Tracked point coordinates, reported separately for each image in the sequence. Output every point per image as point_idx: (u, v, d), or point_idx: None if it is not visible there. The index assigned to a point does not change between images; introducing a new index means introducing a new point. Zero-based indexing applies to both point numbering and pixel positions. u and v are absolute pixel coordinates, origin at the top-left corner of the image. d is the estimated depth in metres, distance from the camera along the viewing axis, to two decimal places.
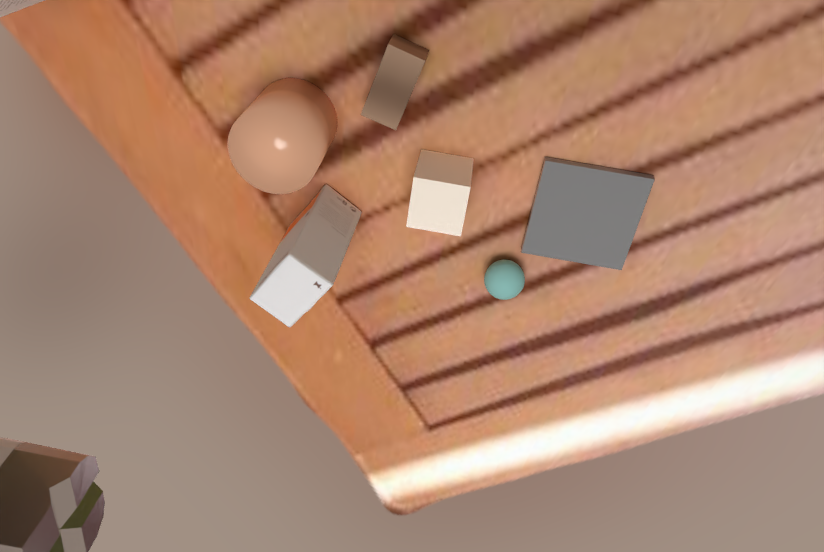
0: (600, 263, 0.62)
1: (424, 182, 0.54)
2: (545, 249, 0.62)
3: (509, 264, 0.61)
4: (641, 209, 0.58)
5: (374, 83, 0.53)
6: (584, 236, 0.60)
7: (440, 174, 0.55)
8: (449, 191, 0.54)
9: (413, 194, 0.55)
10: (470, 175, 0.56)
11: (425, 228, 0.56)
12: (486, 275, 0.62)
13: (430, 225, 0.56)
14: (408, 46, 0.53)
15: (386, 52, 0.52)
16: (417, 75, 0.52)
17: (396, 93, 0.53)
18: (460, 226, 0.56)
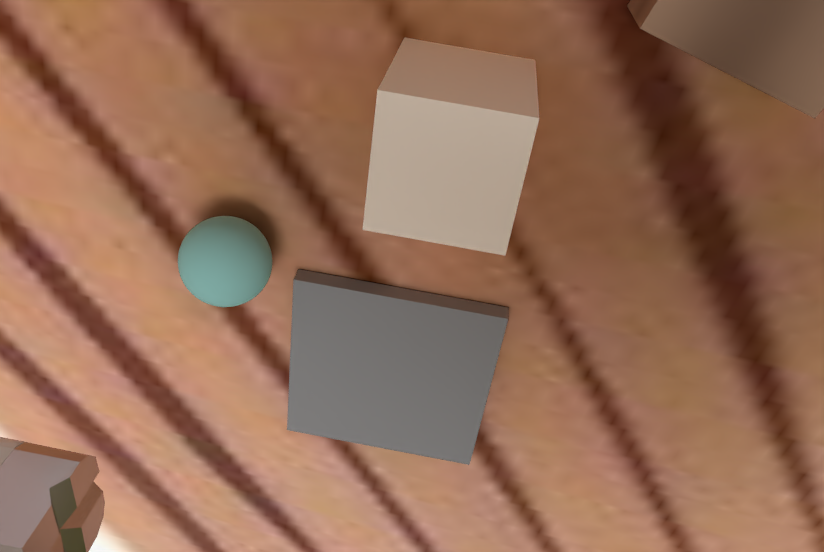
0: (294, 402, 0.33)
1: (520, 146, 0.19)
2: (307, 321, 0.30)
3: (268, 274, 0.27)
4: (412, 451, 0.34)
5: None
6: (347, 379, 0.31)
7: None
8: (493, 207, 0.21)
9: (482, 113, 0.19)
10: None
11: (376, 143, 0.20)
12: (230, 231, 0.26)
13: (387, 157, 0.20)
14: None
15: None
16: (782, 96, 0.20)
17: (746, 37, 0.20)
18: (391, 230, 0.21)
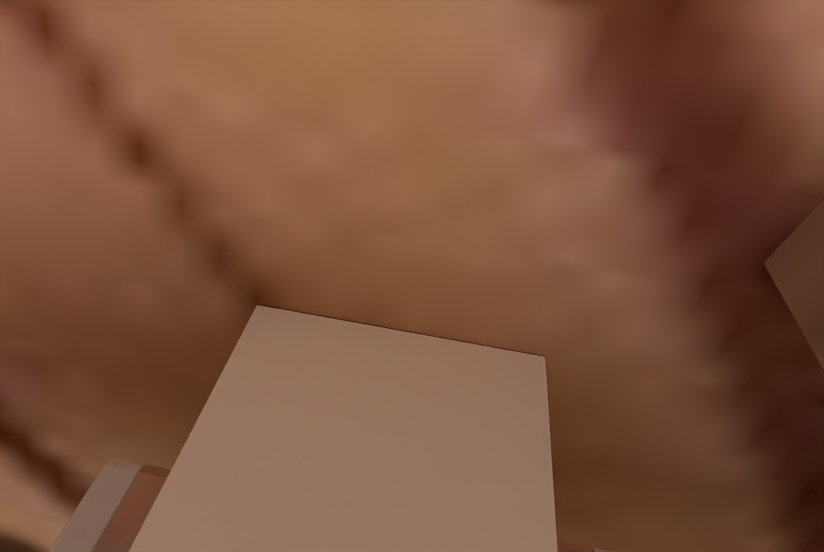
0: None
1: None
2: None
3: None
4: None
5: None
6: None
7: None
8: None
9: None
10: None
11: None
12: None
13: None
14: None
15: None
16: None
17: None
18: None
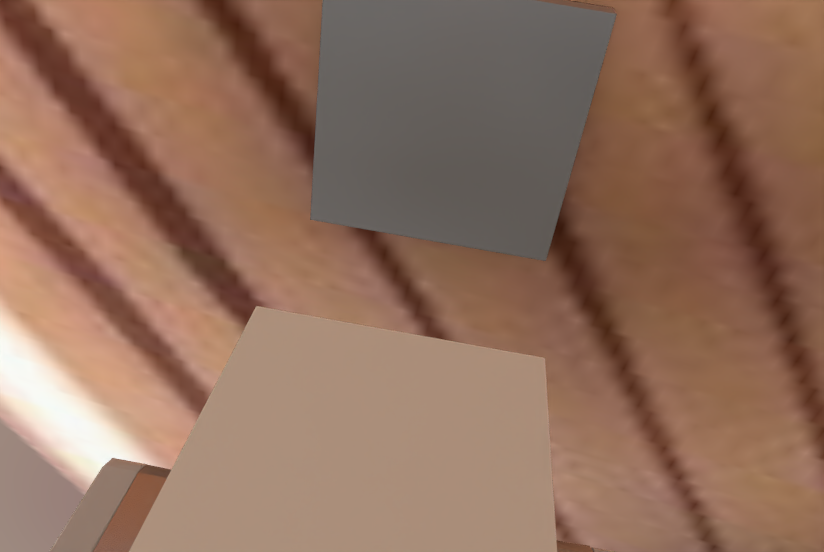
0: (321, 174, 0.25)
1: None
2: (342, 36, 0.22)
3: None
4: (472, 244, 0.26)
5: None
6: (392, 131, 0.24)
7: None
8: None
9: None
10: None
11: None
12: None
13: None
14: None
15: None
16: None
17: None
18: None
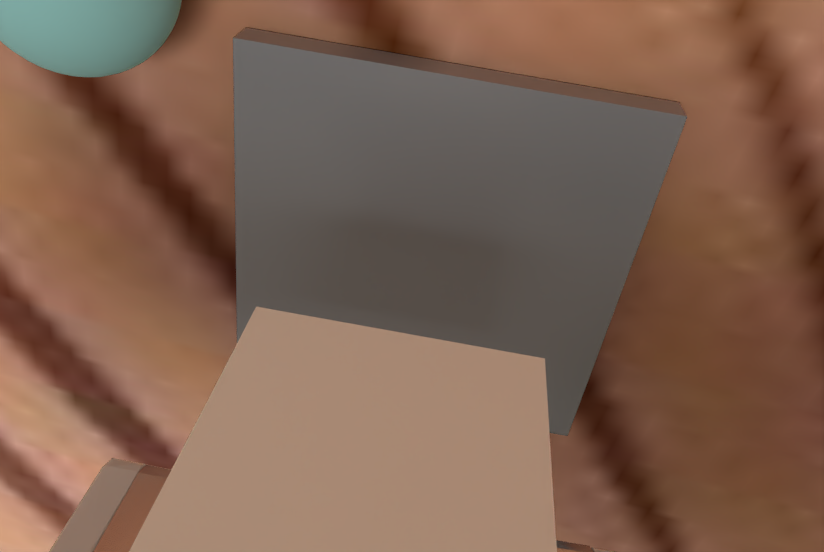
0: (248, 319, 0.18)
1: None
2: (266, 139, 0.15)
3: None
4: None
5: None
6: (346, 268, 0.16)
7: None
8: None
9: None
10: None
11: None
12: None
13: None
14: None
15: None
16: None
17: None
18: None
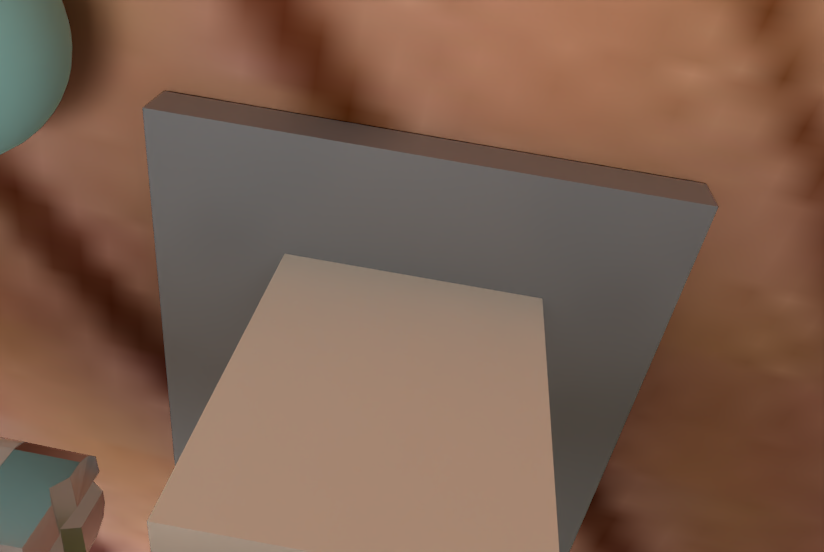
0: (184, 426, 0.15)
1: None
2: (192, 227, 0.12)
3: (45, 66, 0.09)
4: None
5: None
6: None
7: None
8: None
9: None
10: None
11: None
12: None
13: None
14: None
15: None
16: None
17: None
18: None
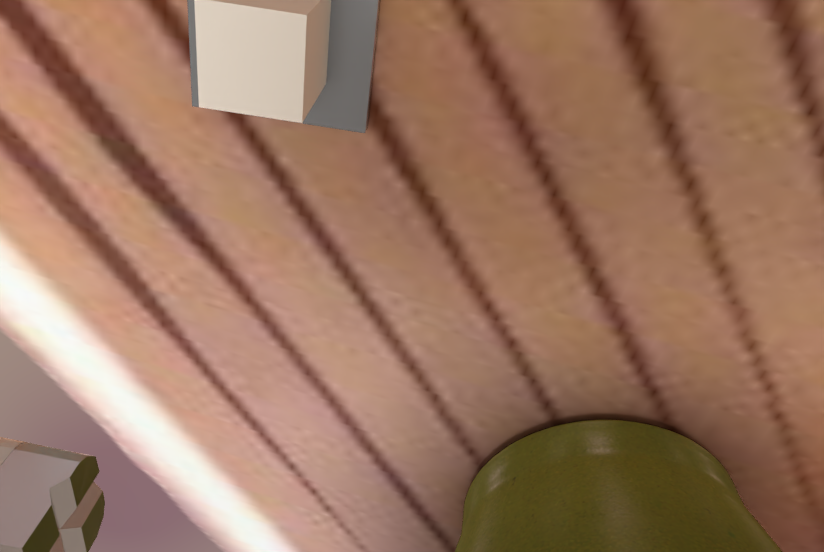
0: (196, 69, 0.35)
1: (298, 37, 0.28)
2: None
3: None
4: (311, 121, 0.36)
5: None
6: None
7: (311, 56, 0.30)
8: (287, 85, 0.29)
9: (268, 13, 0.28)
10: (312, 104, 0.32)
11: (199, 38, 0.28)
12: None
13: (208, 48, 0.29)
14: None
15: None
16: None
17: None
18: (219, 106, 0.30)
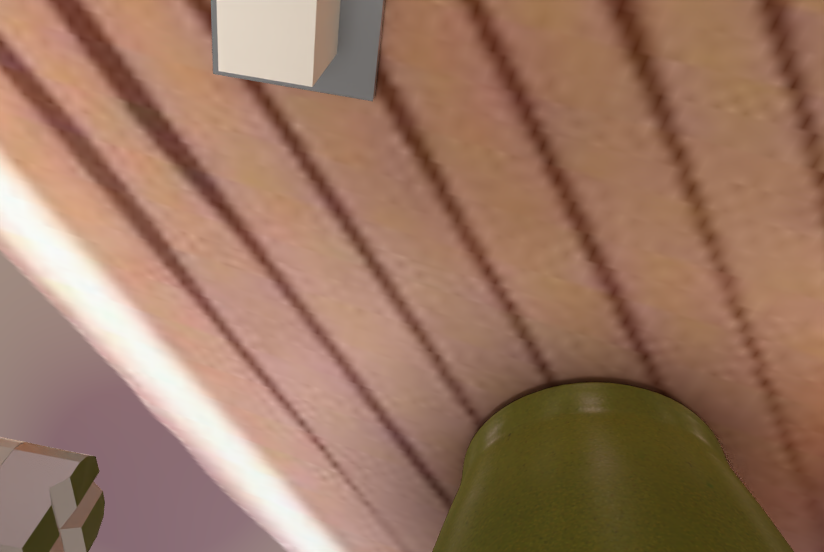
0: (217, 38, 0.37)
1: (309, 6, 0.31)
2: None
3: None
4: (322, 90, 0.38)
5: None
6: None
7: (321, 25, 0.32)
8: (299, 51, 0.32)
9: None
10: (322, 71, 0.34)
11: (219, 7, 0.31)
12: None
13: (227, 16, 0.31)
14: None
15: None
16: None
17: None
18: (237, 70, 0.33)
